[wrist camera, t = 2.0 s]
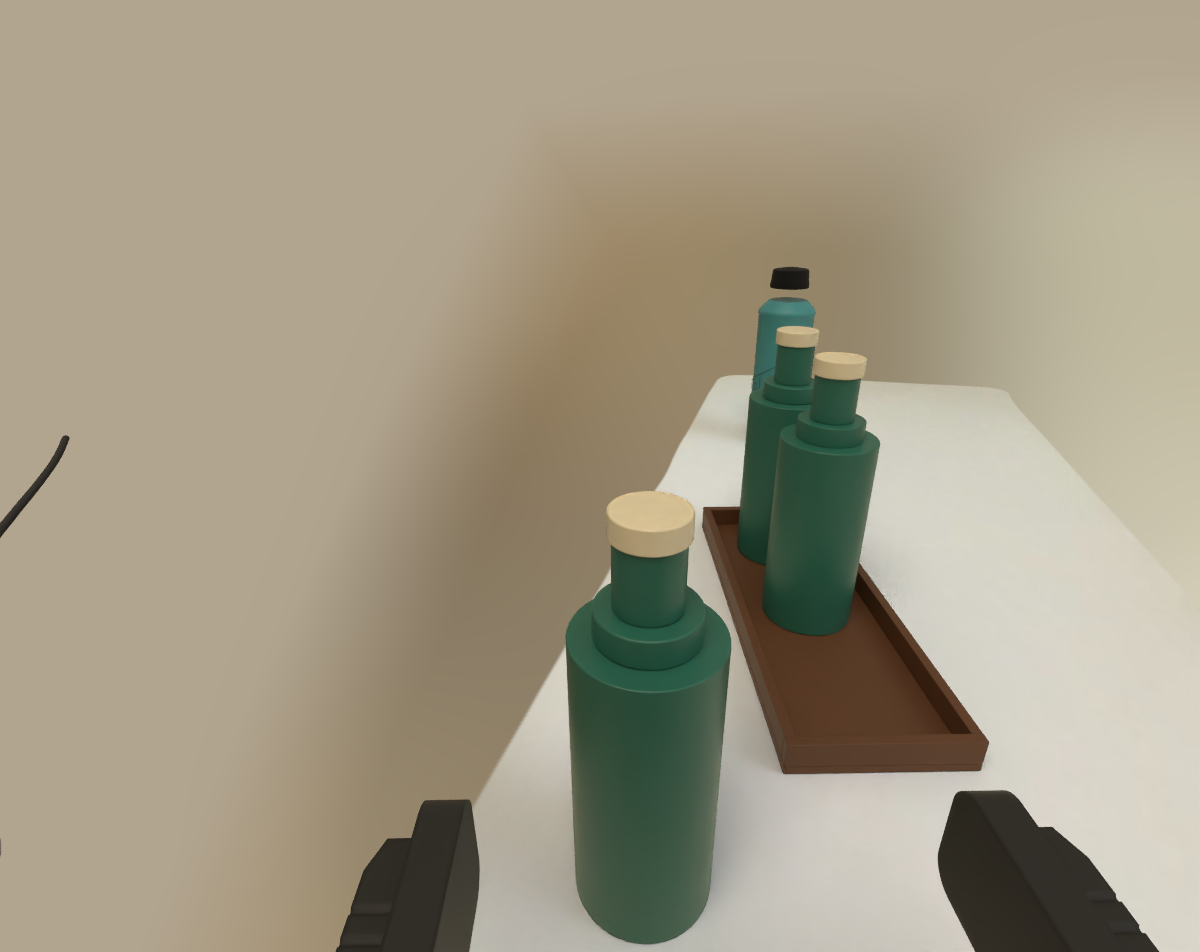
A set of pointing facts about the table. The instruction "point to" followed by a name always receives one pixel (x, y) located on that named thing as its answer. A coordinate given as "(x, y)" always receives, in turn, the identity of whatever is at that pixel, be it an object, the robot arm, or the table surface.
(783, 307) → the beverage bottle
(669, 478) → the table surface
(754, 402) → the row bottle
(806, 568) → the row bottle middle
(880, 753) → the tray
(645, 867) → the green bottle
